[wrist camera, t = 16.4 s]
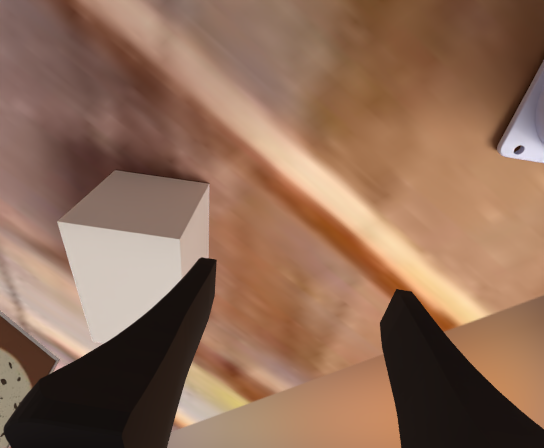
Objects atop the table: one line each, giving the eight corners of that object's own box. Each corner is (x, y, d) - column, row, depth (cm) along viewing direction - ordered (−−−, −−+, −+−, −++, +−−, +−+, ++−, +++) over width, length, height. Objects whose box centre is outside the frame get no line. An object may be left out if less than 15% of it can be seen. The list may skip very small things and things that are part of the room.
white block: (209, 183, 22) (179, 239, 17) (208, 289, 27) (185, 355, 22) (114, 170, 22) (57, 221, 17) (132, 278, 27) (92, 341, 22)
